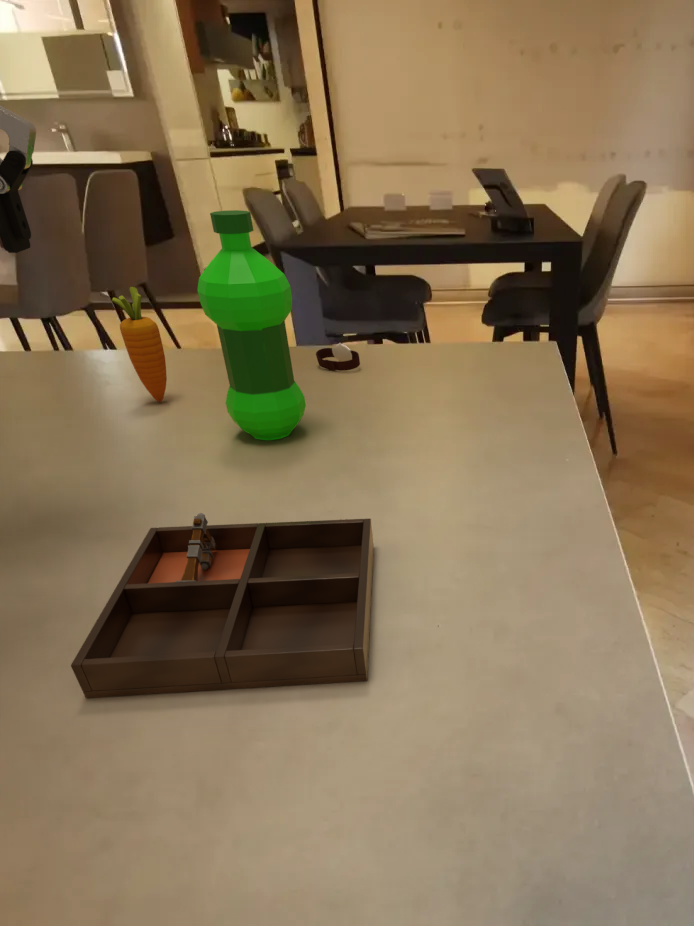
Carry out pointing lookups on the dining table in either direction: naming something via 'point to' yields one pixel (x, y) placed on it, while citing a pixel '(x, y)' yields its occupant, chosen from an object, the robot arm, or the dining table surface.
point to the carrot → (143, 346)
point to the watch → (340, 352)
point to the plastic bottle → (251, 330)
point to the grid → (236, 611)
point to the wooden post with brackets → (198, 549)
